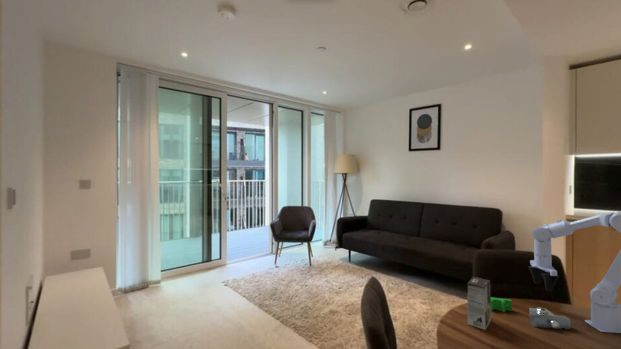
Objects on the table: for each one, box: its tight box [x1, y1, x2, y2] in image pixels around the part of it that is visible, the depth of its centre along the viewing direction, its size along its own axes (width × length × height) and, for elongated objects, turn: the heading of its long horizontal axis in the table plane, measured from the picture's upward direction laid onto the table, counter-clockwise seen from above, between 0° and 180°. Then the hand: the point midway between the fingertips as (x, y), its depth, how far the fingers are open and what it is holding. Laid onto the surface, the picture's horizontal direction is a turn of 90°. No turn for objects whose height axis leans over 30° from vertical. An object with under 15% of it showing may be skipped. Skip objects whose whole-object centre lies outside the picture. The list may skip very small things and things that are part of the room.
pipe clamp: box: [491, 296, 513, 313], centre depth 124 cm, size 11×4×5 cm, turn 68°
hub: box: [528, 306, 555, 317], centre depth 114 cm, size 6×6×5 cm
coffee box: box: [466, 276, 492, 331], centre depth 113 cm, size 9×6×16 cm
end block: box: [529, 314, 572, 330], centre depth 109 cm, size 12×5×4 cm, turn 81°
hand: (543, 287), depth 123 cm, fingers open, 7 cm apart
